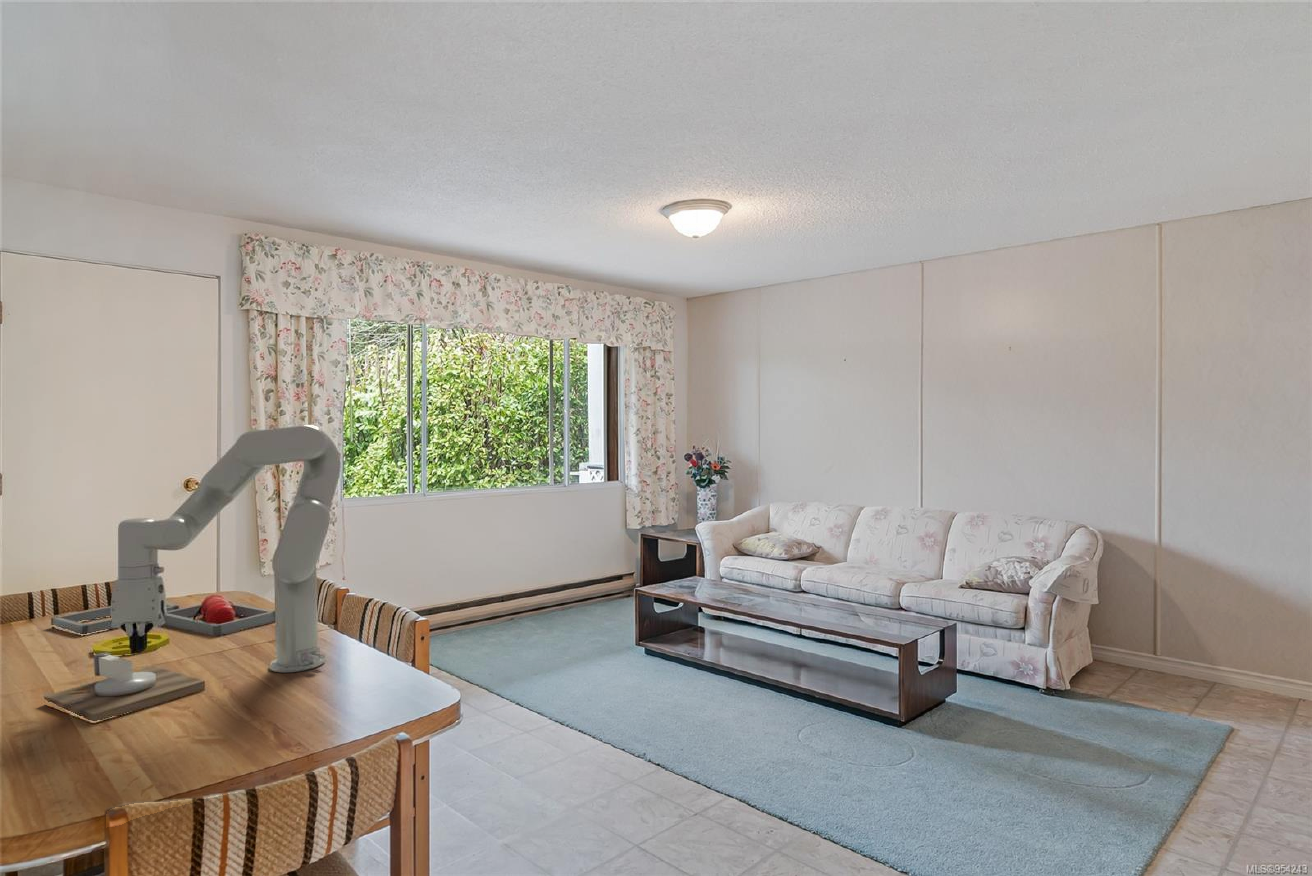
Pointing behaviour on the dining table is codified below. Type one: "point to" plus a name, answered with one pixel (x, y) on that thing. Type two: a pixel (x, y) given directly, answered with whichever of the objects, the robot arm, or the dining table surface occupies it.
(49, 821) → the dining table surface
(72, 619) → the tray
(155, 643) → the decorative disc
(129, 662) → the dial
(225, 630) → the tray
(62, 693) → the dial plate
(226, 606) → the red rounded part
